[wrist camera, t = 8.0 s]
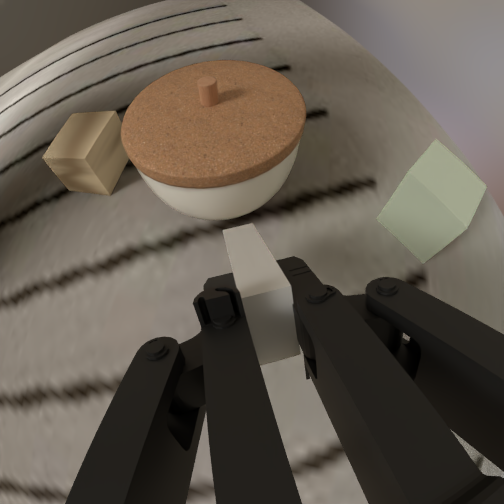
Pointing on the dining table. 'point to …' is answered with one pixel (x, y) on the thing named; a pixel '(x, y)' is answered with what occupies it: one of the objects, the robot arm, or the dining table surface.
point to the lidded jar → (215, 137)
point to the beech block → (88, 152)
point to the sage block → (433, 202)
